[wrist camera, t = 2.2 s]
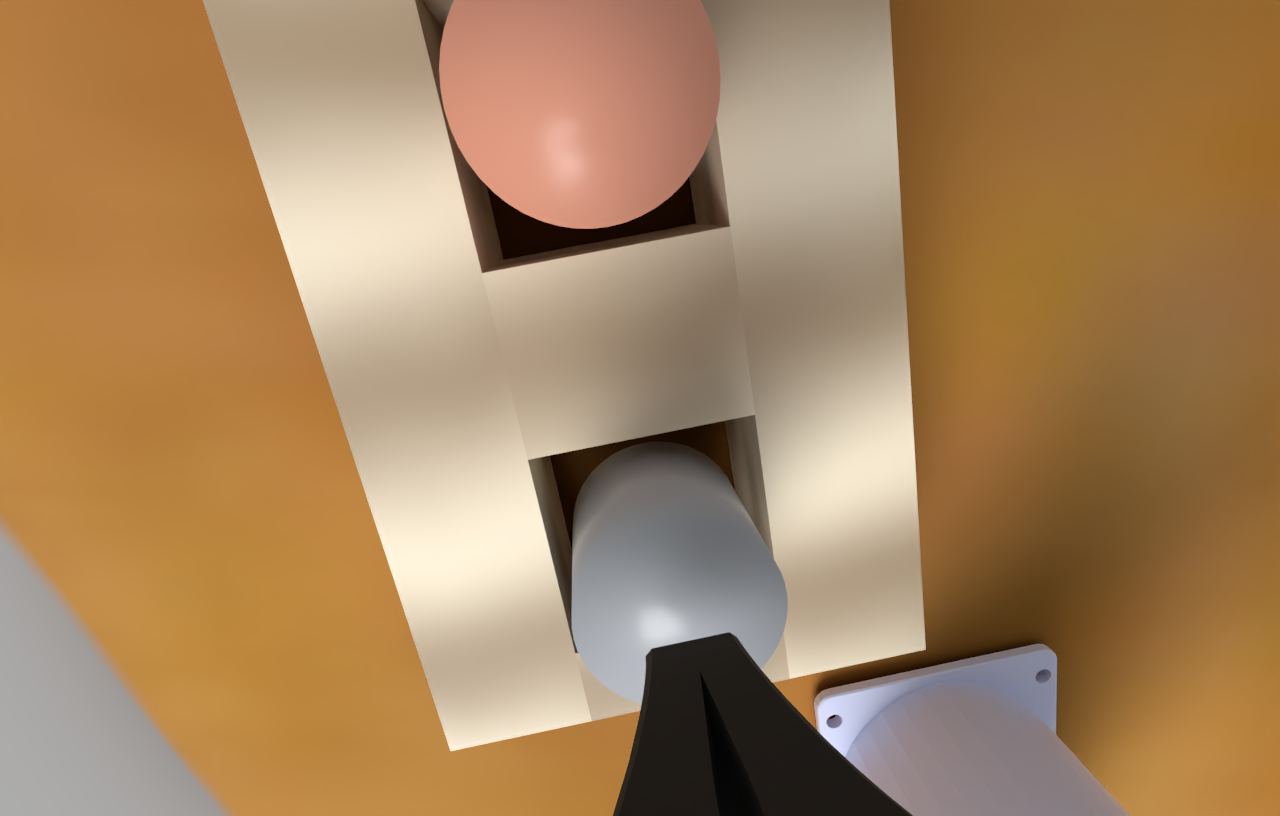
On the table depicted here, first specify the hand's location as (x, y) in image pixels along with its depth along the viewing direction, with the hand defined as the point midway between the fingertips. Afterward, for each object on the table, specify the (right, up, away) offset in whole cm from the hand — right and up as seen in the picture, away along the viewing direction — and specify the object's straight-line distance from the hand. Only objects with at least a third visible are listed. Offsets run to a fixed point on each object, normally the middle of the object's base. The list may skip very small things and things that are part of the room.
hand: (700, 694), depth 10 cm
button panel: (-2, +7, +7) cm, 10 cm away
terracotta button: (-2, +10, +3) cm, 11 cm away
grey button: (-1, +2, +6) cm, 6 cm away
